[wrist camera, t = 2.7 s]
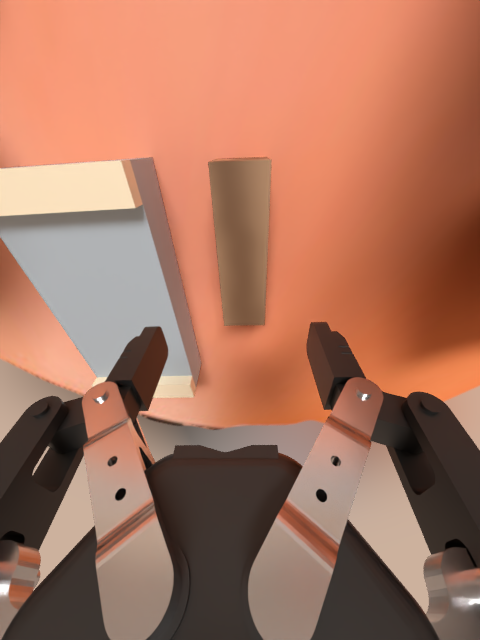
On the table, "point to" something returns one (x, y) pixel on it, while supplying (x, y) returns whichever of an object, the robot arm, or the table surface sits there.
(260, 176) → the brown block
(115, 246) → the blue and cream box
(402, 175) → the table surface
